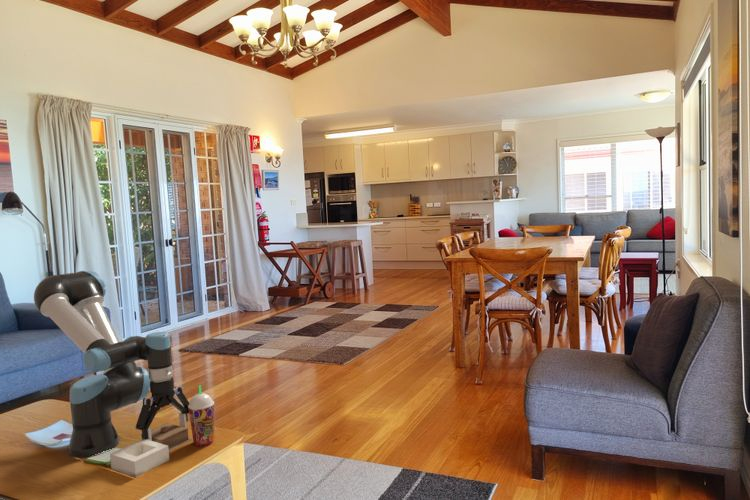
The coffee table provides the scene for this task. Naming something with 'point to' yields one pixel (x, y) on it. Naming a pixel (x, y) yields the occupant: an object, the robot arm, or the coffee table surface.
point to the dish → (139, 457)
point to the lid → (169, 435)
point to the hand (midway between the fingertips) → (166, 440)
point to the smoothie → (202, 418)
